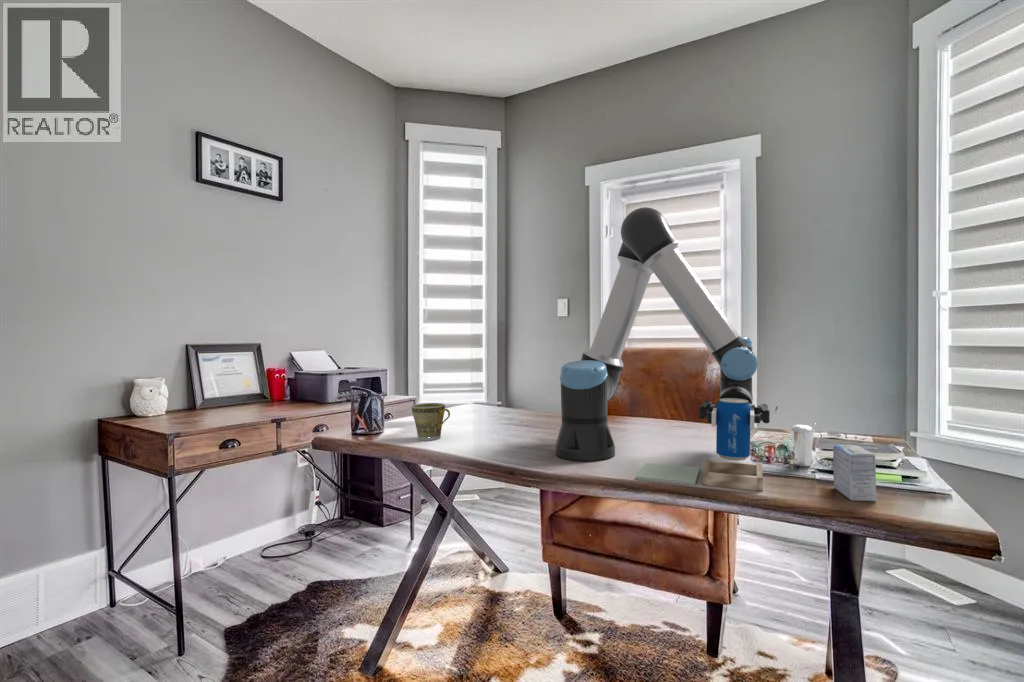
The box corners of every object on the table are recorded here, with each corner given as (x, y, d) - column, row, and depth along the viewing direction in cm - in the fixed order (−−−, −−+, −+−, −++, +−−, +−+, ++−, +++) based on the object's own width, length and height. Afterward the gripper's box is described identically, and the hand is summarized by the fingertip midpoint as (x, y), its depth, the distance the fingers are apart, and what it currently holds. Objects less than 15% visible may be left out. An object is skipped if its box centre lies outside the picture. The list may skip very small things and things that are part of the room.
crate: (703, 485, 109) (702, 472, 109) (706, 471, 119) (706, 459, 119) (762, 490, 104) (762, 478, 104) (761, 475, 114) (761, 464, 114)
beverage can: (715, 459, 110) (716, 401, 109) (716, 452, 116) (717, 397, 115) (750, 462, 107) (751, 403, 107) (749, 455, 113) (750, 398, 113)
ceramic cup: (405, 440, 158) (404, 406, 158) (427, 434, 167) (426, 402, 166) (439, 444, 151) (438, 409, 151) (460, 437, 160) (459, 404, 159)
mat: (635, 479, 114) (635, 476, 114) (645, 465, 125) (645, 462, 125) (695, 485, 109) (695, 482, 109) (700, 469, 120) (699, 467, 120)
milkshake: (809, 469, 118) (808, 424, 118) (786, 463, 123) (786, 420, 123) (821, 466, 120) (821, 422, 120) (799, 461, 125) (799, 418, 125)
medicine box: (877, 502, 97) (877, 454, 96) (849, 501, 97) (849, 453, 97) (858, 488, 104) (857, 444, 104) (832, 488, 105) (832, 444, 105)
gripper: (780, 422, 124) (787, 444, 103) (692, 416, 131) (681, 435, 110) (780, 390, 123) (787, 405, 102) (692, 386, 131) (681, 399, 110)
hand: (732, 420), depth 106 cm, fingers closed on beverage can, 6 cm apart
